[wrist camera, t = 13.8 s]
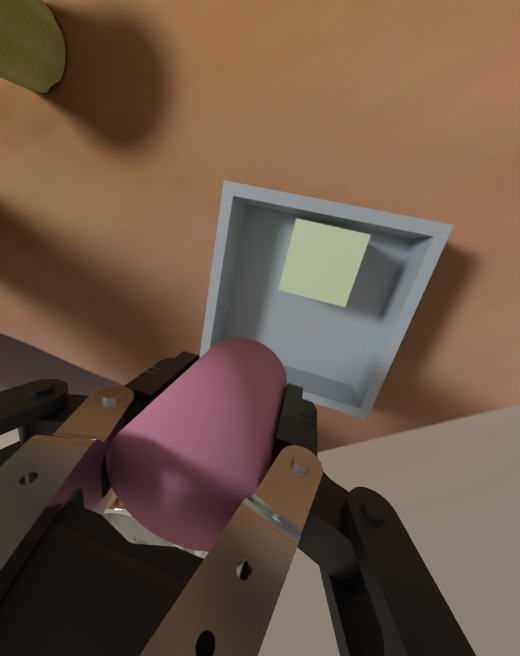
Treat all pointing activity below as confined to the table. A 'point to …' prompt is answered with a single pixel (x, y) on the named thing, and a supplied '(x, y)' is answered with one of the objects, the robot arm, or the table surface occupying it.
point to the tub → (313, 315)
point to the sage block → (323, 262)
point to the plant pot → (30, 45)
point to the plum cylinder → (201, 444)
